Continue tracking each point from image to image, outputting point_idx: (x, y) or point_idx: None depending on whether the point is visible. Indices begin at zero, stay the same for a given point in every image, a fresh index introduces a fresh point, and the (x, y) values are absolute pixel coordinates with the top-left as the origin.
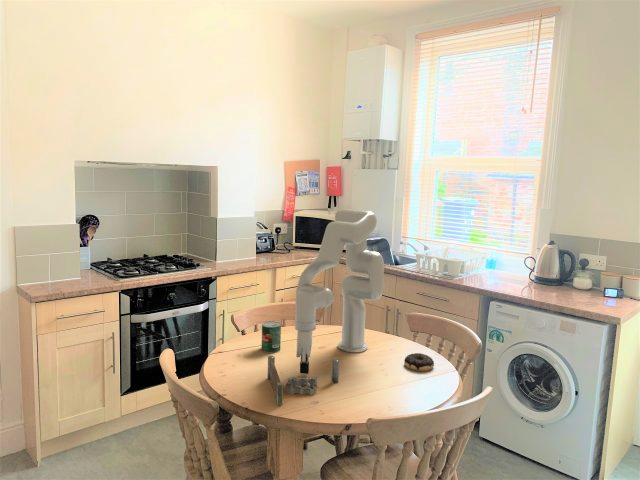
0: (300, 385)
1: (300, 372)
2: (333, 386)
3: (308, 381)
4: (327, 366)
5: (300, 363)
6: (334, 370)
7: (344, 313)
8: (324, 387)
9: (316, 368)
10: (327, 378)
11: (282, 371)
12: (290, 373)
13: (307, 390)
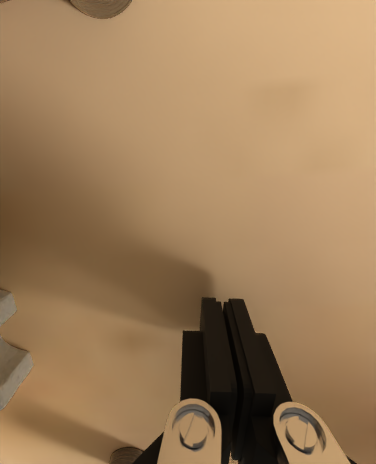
0: (4, 294)
1: (202, 304)
2: (66, 453)
3: None
4: (367, 431)
5: (210, 389)
6: None
7: None
8: (37, 418)
9: (344, 379)
10: None
11: (313, 110)
12: (257, 199)
13: None
